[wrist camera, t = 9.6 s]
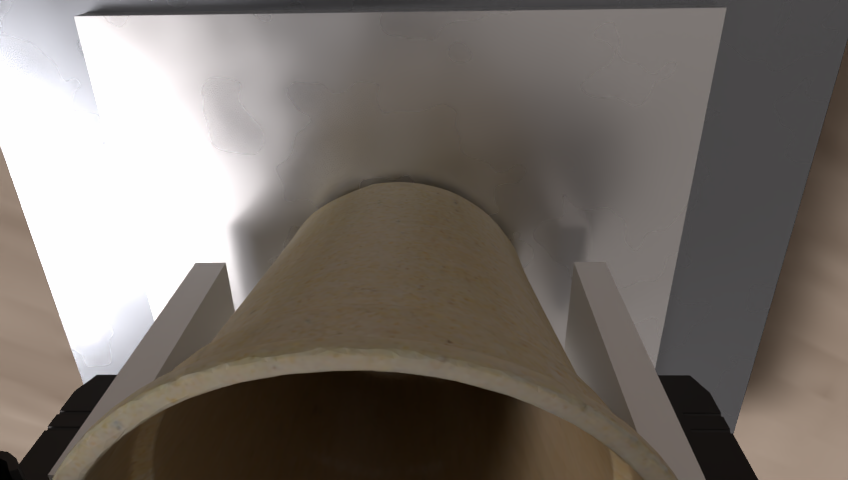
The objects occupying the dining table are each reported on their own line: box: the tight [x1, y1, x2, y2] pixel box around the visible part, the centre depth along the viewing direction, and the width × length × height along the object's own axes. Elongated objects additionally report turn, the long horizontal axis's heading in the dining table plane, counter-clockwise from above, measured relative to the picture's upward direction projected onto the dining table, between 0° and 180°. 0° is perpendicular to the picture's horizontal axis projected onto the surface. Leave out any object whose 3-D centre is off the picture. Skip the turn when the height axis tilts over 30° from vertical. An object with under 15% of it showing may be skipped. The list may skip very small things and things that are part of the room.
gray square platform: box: [0, 0, 848, 433], centre depth 19 cm, size 20×18×4 cm
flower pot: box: [52, 182, 678, 480], centre depth 13 cm, size 9×9×9 cm
